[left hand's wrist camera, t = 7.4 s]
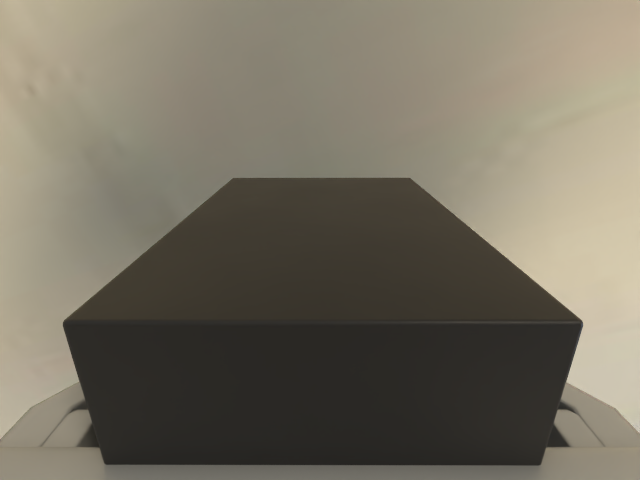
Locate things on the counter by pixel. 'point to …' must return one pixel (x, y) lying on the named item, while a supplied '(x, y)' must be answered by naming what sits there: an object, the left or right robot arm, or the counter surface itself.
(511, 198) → the counter surface
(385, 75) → the counter surface
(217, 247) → the box
